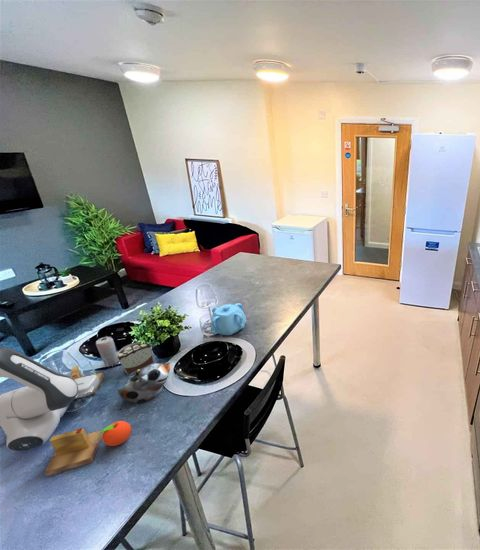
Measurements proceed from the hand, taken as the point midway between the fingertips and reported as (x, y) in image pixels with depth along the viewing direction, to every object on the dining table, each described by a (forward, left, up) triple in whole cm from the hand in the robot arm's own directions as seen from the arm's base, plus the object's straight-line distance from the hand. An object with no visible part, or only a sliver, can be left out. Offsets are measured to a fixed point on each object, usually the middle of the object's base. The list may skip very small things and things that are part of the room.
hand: (69, 376), depth 108 cm
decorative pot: (+55, +20, -6) cm, 59 cm away
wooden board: (+11, -33, -6) cm, 35 cm away
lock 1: (+11, -33, -4) cm, 35 cm away
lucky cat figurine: (+26, -12, -6) cm, 29 cm away
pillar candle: (+9, +11, -6) cm, 16 cm away
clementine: (+21, -33, -6) cm, 39 cm away
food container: (+19, +5, -6) cm, 20 cm away
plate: (+3, -2, -6) cm, 7 cm away
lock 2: (+3, -2, -4) cm, 5 cm away
